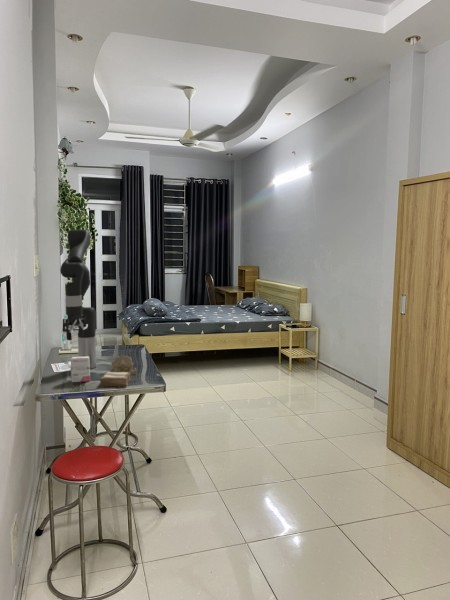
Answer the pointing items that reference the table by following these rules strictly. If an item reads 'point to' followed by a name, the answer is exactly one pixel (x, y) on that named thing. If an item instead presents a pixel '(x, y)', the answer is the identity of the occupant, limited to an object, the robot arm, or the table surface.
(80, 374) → the ink box
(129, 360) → the ceramic model
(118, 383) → the base
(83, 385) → the table surface
